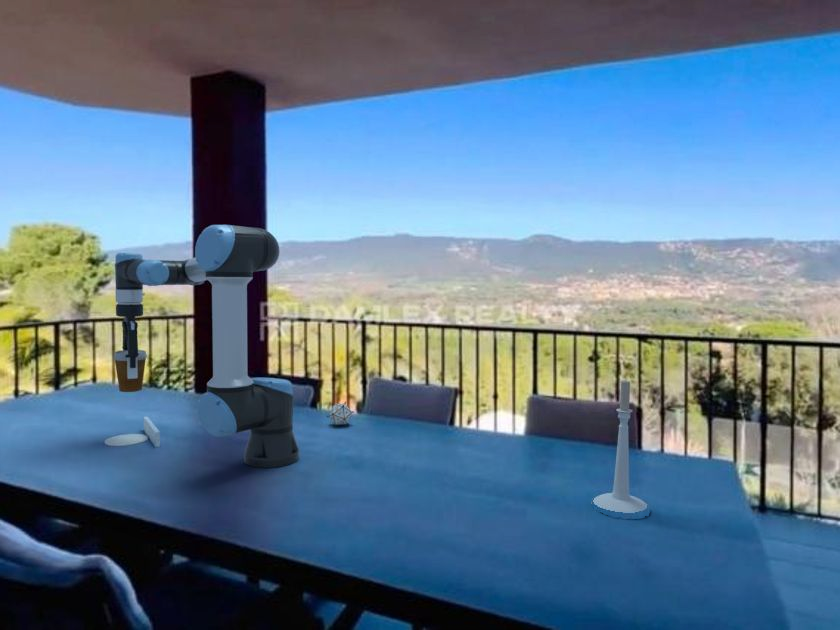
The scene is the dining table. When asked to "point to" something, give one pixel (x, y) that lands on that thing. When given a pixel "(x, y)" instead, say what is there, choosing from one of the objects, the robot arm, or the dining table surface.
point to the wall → (152, 432)
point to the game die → (340, 414)
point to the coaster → (126, 440)
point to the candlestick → (621, 465)
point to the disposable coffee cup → (121, 369)
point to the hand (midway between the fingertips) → (130, 375)
